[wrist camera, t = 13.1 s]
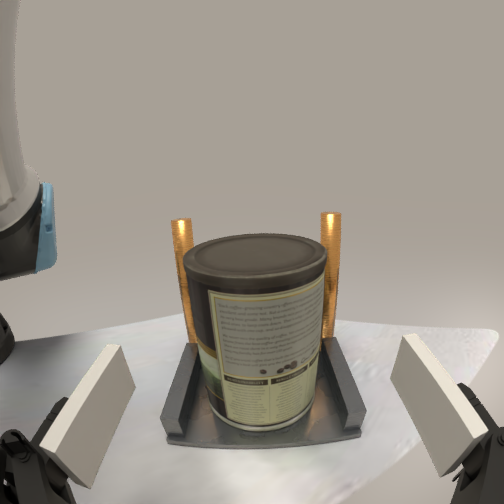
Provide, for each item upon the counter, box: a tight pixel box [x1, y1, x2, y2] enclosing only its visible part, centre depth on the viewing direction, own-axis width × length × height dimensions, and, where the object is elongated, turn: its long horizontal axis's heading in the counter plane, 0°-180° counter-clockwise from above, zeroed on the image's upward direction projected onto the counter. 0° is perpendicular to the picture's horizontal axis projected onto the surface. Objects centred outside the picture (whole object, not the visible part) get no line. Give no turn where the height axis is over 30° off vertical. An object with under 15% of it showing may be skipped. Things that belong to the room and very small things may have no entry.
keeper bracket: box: [160, 212, 367, 449], centre depth 23 cm, size 16×14×16 cm
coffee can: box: [183, 233, 327, 431], centre depth 22 cm, size 10×10×14 cm
